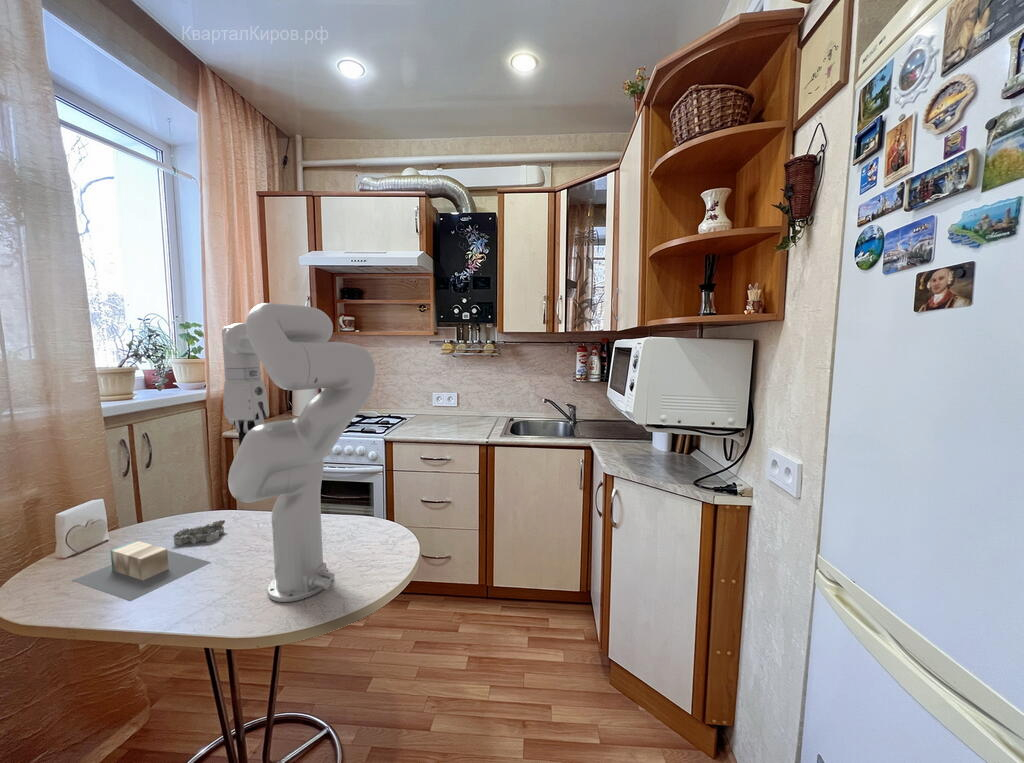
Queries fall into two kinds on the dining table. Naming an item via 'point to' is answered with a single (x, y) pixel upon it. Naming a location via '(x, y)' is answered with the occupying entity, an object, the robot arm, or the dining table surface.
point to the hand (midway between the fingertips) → (247, 446)
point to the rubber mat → (135, 587)
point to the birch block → (139, 560)
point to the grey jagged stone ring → (199, 533)
